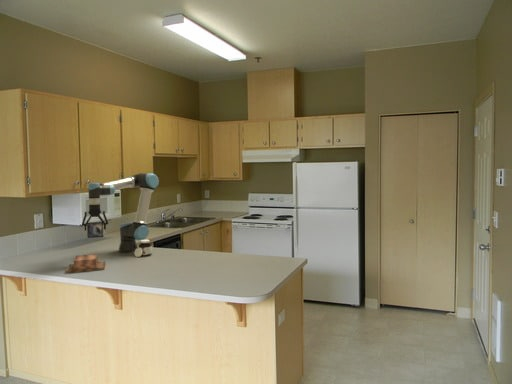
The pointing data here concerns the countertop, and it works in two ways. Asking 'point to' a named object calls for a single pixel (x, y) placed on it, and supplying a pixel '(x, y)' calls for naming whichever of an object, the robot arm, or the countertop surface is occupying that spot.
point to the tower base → (99, 267)
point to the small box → (95, 229)
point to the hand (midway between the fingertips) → (95, 234)
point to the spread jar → (144, 248)
